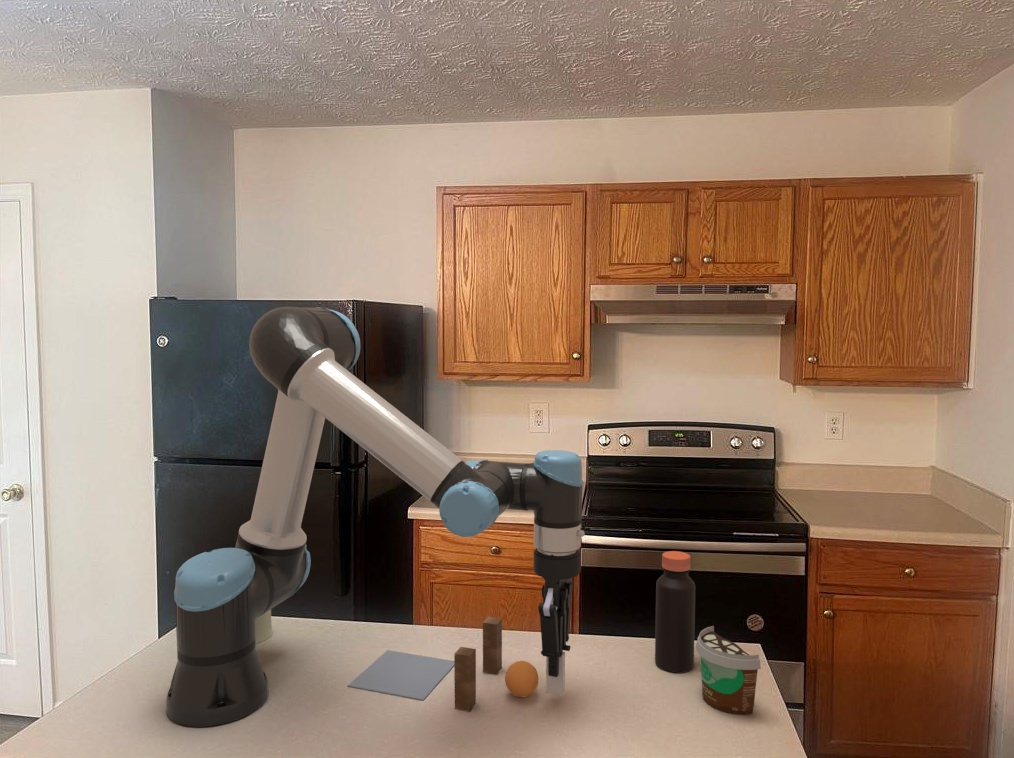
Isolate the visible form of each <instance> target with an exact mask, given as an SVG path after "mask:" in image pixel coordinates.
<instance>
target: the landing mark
mask: <svg viewBox="0 0 1014 758" xmlns="http://www.w3.org/2000/svg"><path fill="white" fill-rule="evenodd" d="M453 668H454V660H451V659H444V658H439V657H432V656H425V655H421V654H415V653H408V652H402V651H396V650H390V649H389V650H388V649H387V650H386V651H385V652H383V653H382V654H381V655H380V656H379V657H378V658H377V659H376V660H374V662H372V663H371V664H370V665H368V667H367V668H365V669H364V671H362V672H361V673H360V674H359V675H358V676H357V677H355V679H353V680H352V681H351V682H349V684H348V685H347V687H348V688H353V689H357V690H358V689H360V690H364V691H369V692H374V693H379V694H386V695H390V696H396V697H401V698H406V699H410V700H411V699H412V700H417V701H422V702H423V701H425V700H426V698H427V697H429V695H430V694H431V693H432V692H433V690H435V689H436V687H437V686H438V685H439V684H440V682H441V681H442V680H444V678H445V677H446V676H447V675H448V674H449V672H450V671H451V670H452V669H453Z"/></svg>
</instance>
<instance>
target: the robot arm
mask: <svg viewBox="0 0 1014 758" xmlns="http://www.w3.org/2000/svg"><path fill="white" fill-rule="evenodd" d="M248 346H249V353H250V357H251V359H252V362H253V364H254V366H255V367H256V369H257V370H258V371H259V372H260V374H261V375H262V377H263V378H265V380H267V381H268V382H269V383H270V384H272V386H274V388H276V389H277V390H278V391H277V395H276V396H277V397H276V401H275V404H274V405H275V406H274V410H273V415H272V419H271V420H272V421H271V425H270V428H269V434H268V437H267V443H266V447H265V452H264V457H263V460H262V466H261V470H260V475H259V480H258V484H257V488H256V493H255V499H254V504H253V508H252V512H251V517H250V520H248V521H246V522H244V523H243V524H241V525H240V527H239V530H238V533H237V534H238V535H237V539H236V543H235V547H223V548H216V549H212V550H211V551H208V552H207V551H204V552H202V553H199V554H196V555H194V556H193V557H190V558H189V559H187V560H186V561H185V562H184V563H182V565H181V566H180V567H179V568H178V570H177V572H176V575H175V588H174V591H173V598H174V603H175V604H174V605H175V607H174V608H175V628H176V629H175V630H176V631H175V632H176V651H177V652H176V653H177V655H176V656H177V662H176V665H175V668H174V671H173V675H172V678H171V682H170V687H169V689H168V692H167V695H166V700H165V701H166V714H167V717H168V718H169V719H170V720H171V721H172V722H174V723H176V724H178V725H182V726H187V727H195V728H196V727H197V728H199V727H201V728H202V727H211V726H213V727H214V726H219V725H224V724H229V723H231V722H234V721H237V720H240V719H242V718H244V717H246V716H249V715H250V714H252V713H254V712H256V711H257V710H258V709H259V708H261V707H262V706H263V704H264V703H265V702H266V701H267V700H268V695H269V681H268V680H269V679H268V676H267V674H266V673H265V671H264V669H263V667H262V666H263V665H262V663H261V659H260V656H259V655H258V654H259V653H258V651H257V645H256V641H255V620H256V619H257V618H258V617H260V616H261V615H263V614H264V613H266V612H267V611H269V610H271V611H272V610H273V609H274V608H275V607H277V606H278V605H280V604H281V603H283V602H284V601H286V600H287V599H289V598H291V597H292V596H294V594H295V593H297V592H298V590H300V588H302V586H303V585H304V583H305V582H306V581H307V579H308V576H309V573H310V569H311V564H312V561H311V553H310V551H308V549H307V547H308V546H307V540H308V539H307V534H306V533H305V531H304V530H303V528H302V522H303V518H304V514H305V510H306V504H307V500H308V496H309V491H310V487H311V482H312V477H313V473H314V470H315V464H316V461H317V455H318V452H319V447H320V443H321V438H322V434H323V428H324V426H325V425H324V424H325V421H326V420H328V421H329V422H330V423H331V424H333V425H334V426H335V427H336V428H337V429H339V430H340V431H341V432H343V433H344V434H345V435H346V436H347V437H349V438H350V439H351V440H352V441H354V442H355V443H356V444H358V445H359V446H360V447H361V448H363V449H364V450H365V451H366V452H367V453H369V454H370V455H371V456H373V457H374V458H375V459H376V460H378V461H379V462H380V463H381V464H382V465H384V466H385V467H387V468H388V469H389V470H390V471H391V472H393V473H394V474H395V475H396V476H398V477H399V478H400V479H401V480H403V481H404V482H405V483H407V484H408V485H409V486H410V487H412V488H413V489H414V490H415V491H417V492H418V493H419V494H421V495H422V496H423V497H424V498H426V500H427V501H429V502H431V503H432V504H433V505H434V506H435V507H436V508H438V513H439V517H440V519H441V522H442V523H443V525H444V527H445V528H446V529H447V530H448V531H449V532H450V533H451V534H453V535H456V536H457V537H463V538H470V537H474V536H478V535H479V534H481V533H483V532H484V531H486V530H487V529H489V528H490V527H491V526H493V525H494V524H495V522H496V521H497V520H498V519H497V518H499V517H500V516H501V515H502V514H503V513H504V512H505V511H506V510H513V511H515V510H516V511H524V512H525V511H526V512H529V511H530V512H531V511H532V512H533V514H534V515H533V516H534V517H533V547H534V548H535V549H534V550H533V572H534V574H535V575H537V576H538V577H541V578H542V579H544V585H542V587H541V597H542V603H541V602H539V604H538V606H537V608H538V613H539V619H540V636H541V648H542V649H541V652H540V655H542V656H543V657H546V661H545V663H546V666H545V671H546V672H545V693H546V694H550V695H551V694H552V695H558V696H563V695H564V693H565V680H566V679H565V678H566V677H565V676H566V674H565V673H566V672H565V671H566V652H570V650H571V645H569V644H567V643H568V642H569V639H570V620H571V610H572V609H571V607H572V597H573V596H572V595H573V587H574V580H573V579H574V578H576V577H578V576H579V575H580V574H581V569H582V566H581V565H582V552H581V551H580V548H581V547H582V538H583V537H585V530H582V529H581V528H582V512H583V510H582V509H583V483H584V481H583V472H582V471H583V469H582V464H583V463H582V459H581V457H580V456H579V454H578V453H576V452H573V451H569V450H563V449H562V450H561V449H560V450H559V449H558V450H557V449H554V450H548V449H547V450H541V451H539V452H537V453H535V455H534V460H533V462H529V463H527V462H526V463H525V462H512V461H511V462H509V461H494V460H488V459H482V460H467V461H466V462H464V461H463V459H461V458H460V457H459V456H457V455H456V454H455V453H453V452H452V451H451V450H450V449H449V448H448V447H446V446H445V445H444V444H442V443H441V442H440V441H438V440H437V439H436V438H435V437H433V436H432V435H431V434H430V433H428V432H427V431H426V430H424V429H423V428H422V427H420V426H419V425H418V424H417V423H415V422H414V421H413V420H411V419H410V418H409V417H408V416H406V415H405V414H404V413H402V412H401V411H400V410H399V409H397V408H396V407H395V406H394V405H392V404H391V403H390V402H389V401H387V400H386V399H385V398H383V397H382V396H381V395H379V394H378V392H375V391H374V390H373V389H372V388H370V387H369V386H368V385H367V384H366V383H364V382H363V381H362V380H360V379H359V378H358V377H357V376H355V375H354V374H353V373H352V372H350V370H351V369H352V368H354V366H355V365H356V363H357V361H358V360H359V356H360V353H361V338H360V335H359V332H358V330H357V328H356V327H355V325H354V323H353V322H352V320H351V319H349V318H348V317H347V316H346V315H345V314H343V313H342V312H339V311H336V310H334V309H329V308H327V307H326V308H325V307H298V306H297V307H296V306H282V307H276V308H273V309H271V310H270V311H268V312H265V313H264V314H263V315H262V316H261V317H260V318H258V320H256V323H254V325H253V327H252V329H251V332H250V336H249V345H248ZM565 651H566V652H565Z"/></svg>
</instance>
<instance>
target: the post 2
mask: <svg viewBox="0 0 1014 758" xmlns="http://www.w3.org/2000/svg"><path fill="white" fill-rule="evenodd" d="M502 648H503V619H502V618H500V617H493V616H492V617H491V616H487V618H485V620H484V621H483V622H482V673H483V674H490V675H494V676H495V675H496V676H497V675H498V674H499V672H500V671H502V670H501V669H502V668H503V649H502Z"/></svg>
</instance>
